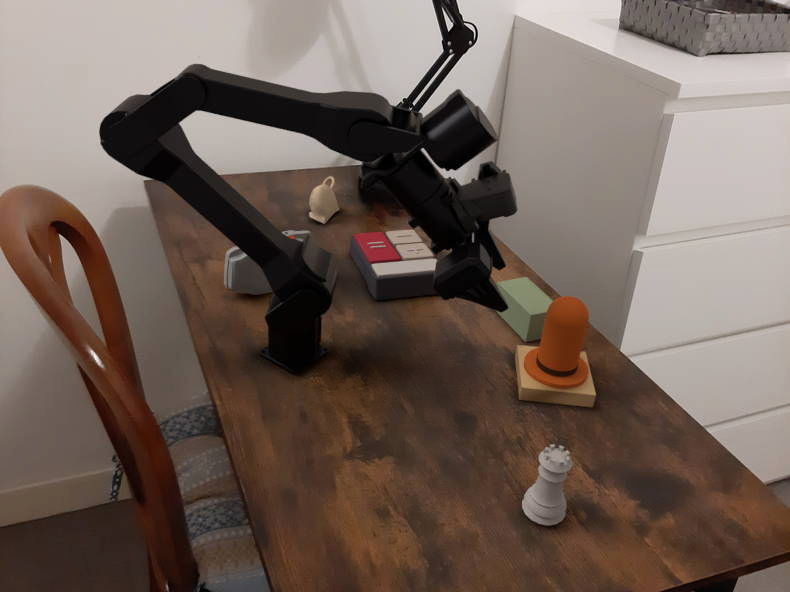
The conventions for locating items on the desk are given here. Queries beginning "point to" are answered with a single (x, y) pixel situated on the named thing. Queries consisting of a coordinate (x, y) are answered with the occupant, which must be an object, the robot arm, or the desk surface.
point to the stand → (547, 394)
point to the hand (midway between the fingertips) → (504, 287)
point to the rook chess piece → (548, 488)
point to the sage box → (524, 307)
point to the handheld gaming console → (250, 269)
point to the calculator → (394, 263)
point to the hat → (560, 346)
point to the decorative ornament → (323, 202)
